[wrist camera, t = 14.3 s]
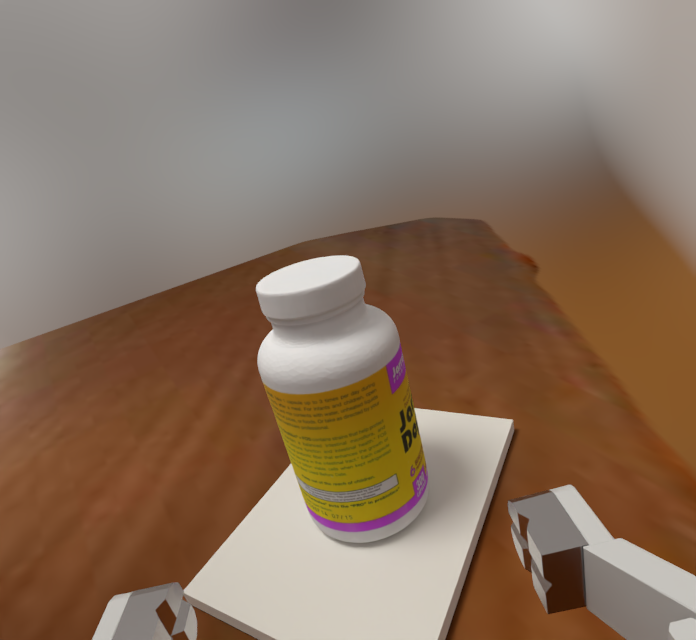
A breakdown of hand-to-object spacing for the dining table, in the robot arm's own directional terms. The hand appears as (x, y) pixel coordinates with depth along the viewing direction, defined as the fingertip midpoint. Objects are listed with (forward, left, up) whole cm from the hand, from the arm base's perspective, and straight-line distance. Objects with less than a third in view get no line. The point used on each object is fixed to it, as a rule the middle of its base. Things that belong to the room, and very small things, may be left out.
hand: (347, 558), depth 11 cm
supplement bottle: (+9, +6, -9) cm, 14 cm away
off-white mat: (+9, +6, -10) cm, 15 cm away
